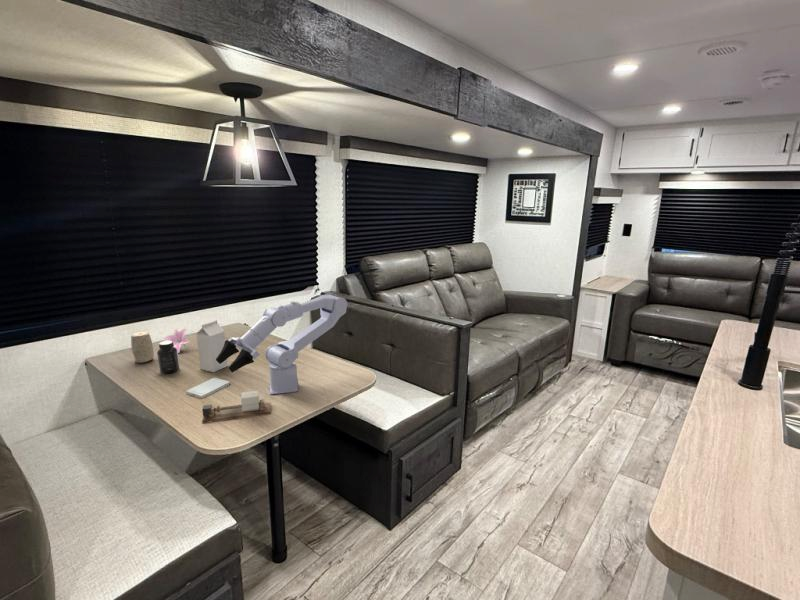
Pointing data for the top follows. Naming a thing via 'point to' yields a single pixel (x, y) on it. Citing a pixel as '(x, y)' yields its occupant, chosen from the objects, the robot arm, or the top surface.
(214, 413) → the cord rail
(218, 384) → the hard drive
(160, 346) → the supplement bottle
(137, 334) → the cream barrel-shaped cylinder
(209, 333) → the milk carton
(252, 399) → the white rounded cube
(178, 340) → the lily
